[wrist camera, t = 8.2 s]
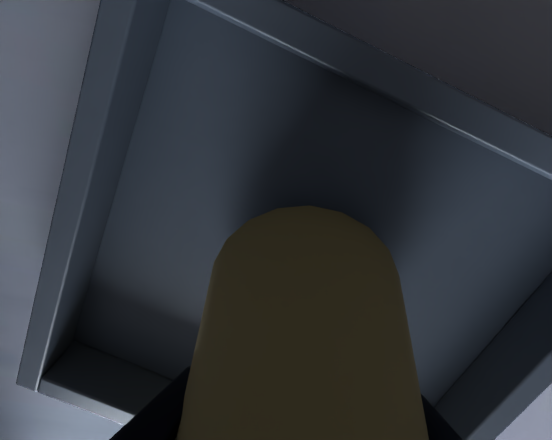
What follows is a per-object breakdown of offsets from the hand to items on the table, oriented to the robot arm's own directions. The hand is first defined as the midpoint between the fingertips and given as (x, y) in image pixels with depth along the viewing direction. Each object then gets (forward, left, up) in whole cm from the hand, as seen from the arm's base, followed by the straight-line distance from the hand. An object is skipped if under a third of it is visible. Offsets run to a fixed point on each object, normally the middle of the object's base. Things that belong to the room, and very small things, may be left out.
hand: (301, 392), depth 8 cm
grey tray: (0, 0, -5) cm, 5 cm away
